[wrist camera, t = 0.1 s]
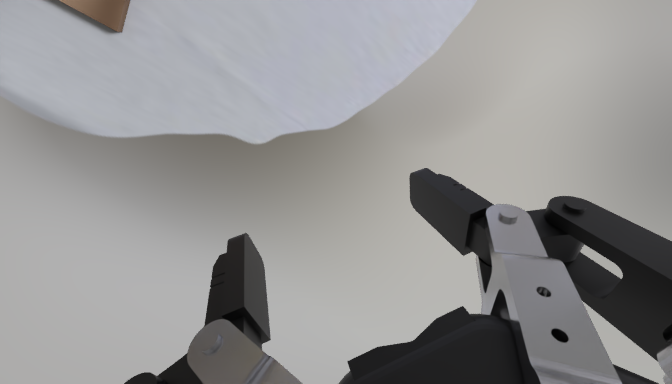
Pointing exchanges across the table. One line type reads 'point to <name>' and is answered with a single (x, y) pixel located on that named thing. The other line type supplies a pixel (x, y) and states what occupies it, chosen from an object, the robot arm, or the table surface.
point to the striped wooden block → (103, 11)
